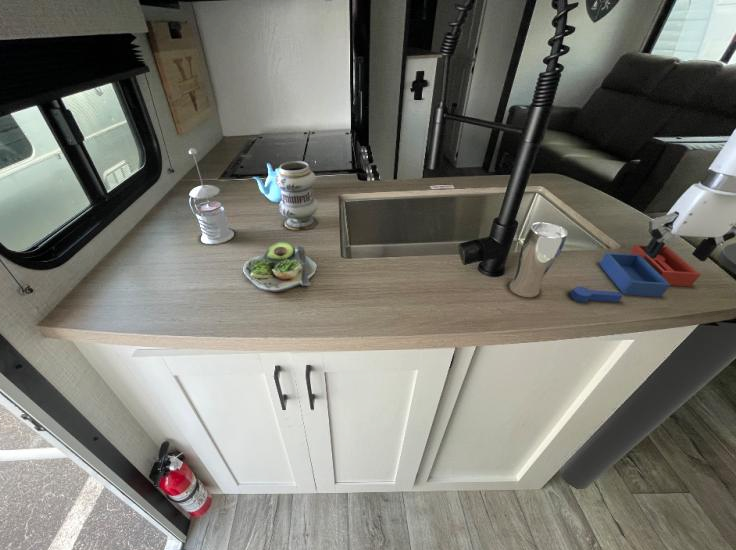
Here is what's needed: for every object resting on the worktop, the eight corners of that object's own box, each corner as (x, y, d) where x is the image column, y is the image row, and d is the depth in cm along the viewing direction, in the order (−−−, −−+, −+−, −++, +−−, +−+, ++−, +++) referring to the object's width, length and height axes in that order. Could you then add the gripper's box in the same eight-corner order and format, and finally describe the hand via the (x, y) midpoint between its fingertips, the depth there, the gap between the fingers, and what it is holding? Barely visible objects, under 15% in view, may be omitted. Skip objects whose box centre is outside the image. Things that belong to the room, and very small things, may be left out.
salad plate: (336, 279, 79) (335, 263, 76) (270, 307, 72) (267, 291, 69) (296, 247, 92) (295, 232, 89) (237, 269, 84) (233, 253, 81)
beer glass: (511, 297, 72) (536, 237, 62) (503, 279, 77) (525, 221, 68) (545, 299, 71) (575, 238, 61) (534, 281, 76) (560, 222, 67)
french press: (218, 246, 94) (191, 155, 78) (189, 238, 98) (158, 151, 82) (240, 232, 100) (219, 145, 84) (212, 225, 104) (187, 141, 89)
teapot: (307, 190, 126) (304, 163, 119) (296, 206, 114) (293, 176, 108) (271, 189, 128) (266, 162, 121) (257, 204, 116) (251, 175, 110)
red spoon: (679, 281, 74) (684, 275, 73) (662, 280, 74) (666, 274, 73) (656, 260, 81) (660, 253, 80) (640, 259, 81) (644, 252, 80)
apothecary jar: (286, 235, 98) (277, 174, 86) (278, 218, 107) (269, 162, 95) (324, 227, 101) (320, 168, 89) (313, 212, 110) (308, 156, 98)
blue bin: (599, 264, 81) (606, 252, 79) (631, 266, 80) (639, 254, 78) (623, 294, 72) (632, 282, 69) (660, 297, 70) (670, 284, 68)
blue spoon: (613, 295, 71) (617, 289, 70) (620, 305, 69) (625, 298, 68) (567, 292, 73) (571, 285, 72) (573, 301, 70) (577, 295, 69)
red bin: (627, 256, 83) (634, 244, 81) (659, 257, 82) (667, 246, 80) (654, 284, 74) (663, 271, 72) (690, 286, 73) (701, 274, 71)
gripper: (765, 176, 65) (705, 250, 75) (666, 173, 67) (622, 246, 78) (799, 190, 59) (729, 268, 70) (690, 186, 62) (639, 262, 72)
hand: (673, 256), depth 74 cm, fingers open, 9 cm apart
